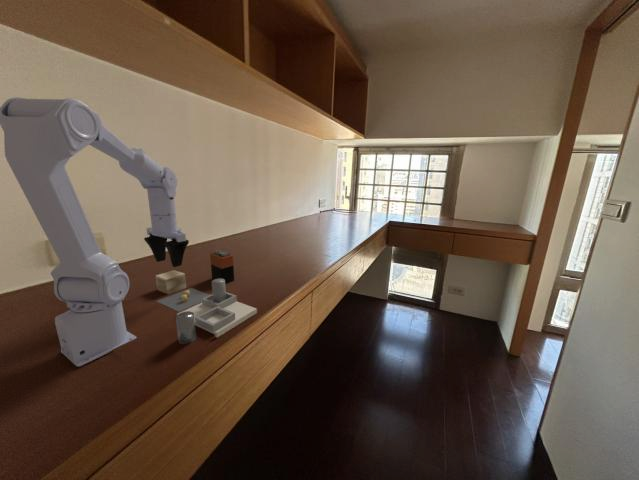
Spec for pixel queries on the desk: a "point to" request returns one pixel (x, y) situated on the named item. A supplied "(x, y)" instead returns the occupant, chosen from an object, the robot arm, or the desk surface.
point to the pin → (186, 327)
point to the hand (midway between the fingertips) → (168, 263)
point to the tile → (183, 299)
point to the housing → (171, 281)
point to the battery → (222, 266)
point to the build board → (220, 310)
